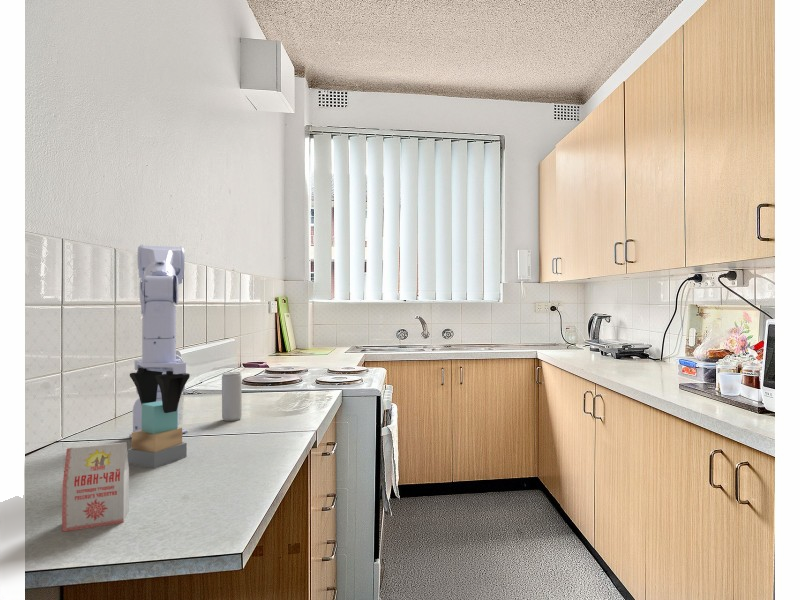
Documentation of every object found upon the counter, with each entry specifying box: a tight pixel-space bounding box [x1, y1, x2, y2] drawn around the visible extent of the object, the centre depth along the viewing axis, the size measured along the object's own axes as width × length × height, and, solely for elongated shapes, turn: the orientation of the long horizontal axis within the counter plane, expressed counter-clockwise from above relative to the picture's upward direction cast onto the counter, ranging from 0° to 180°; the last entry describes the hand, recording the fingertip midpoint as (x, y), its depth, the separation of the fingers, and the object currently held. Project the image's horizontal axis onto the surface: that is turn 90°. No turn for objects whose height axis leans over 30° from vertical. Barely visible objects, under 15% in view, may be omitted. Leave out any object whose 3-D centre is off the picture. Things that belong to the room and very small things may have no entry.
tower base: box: [127, 441, 188, 469], centre depth 87 cm, size 7×7×3 cm
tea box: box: [61, 441, 130, 532], centre depth 61 cm, size 4×7×10 cm, turn 111°
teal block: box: [142, 401, 178, 434], centre depth 87 cm, size 4×4×5 cm
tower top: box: [131, 426, 183, 452], centre depth 87 cm, size 6×6×3 cm
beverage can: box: [221, 371, 243, 422], centre depth 120 cm, size 5×5×12 cm
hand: (159, 409), depth 88 cm, fingers open, 7 cm apart
